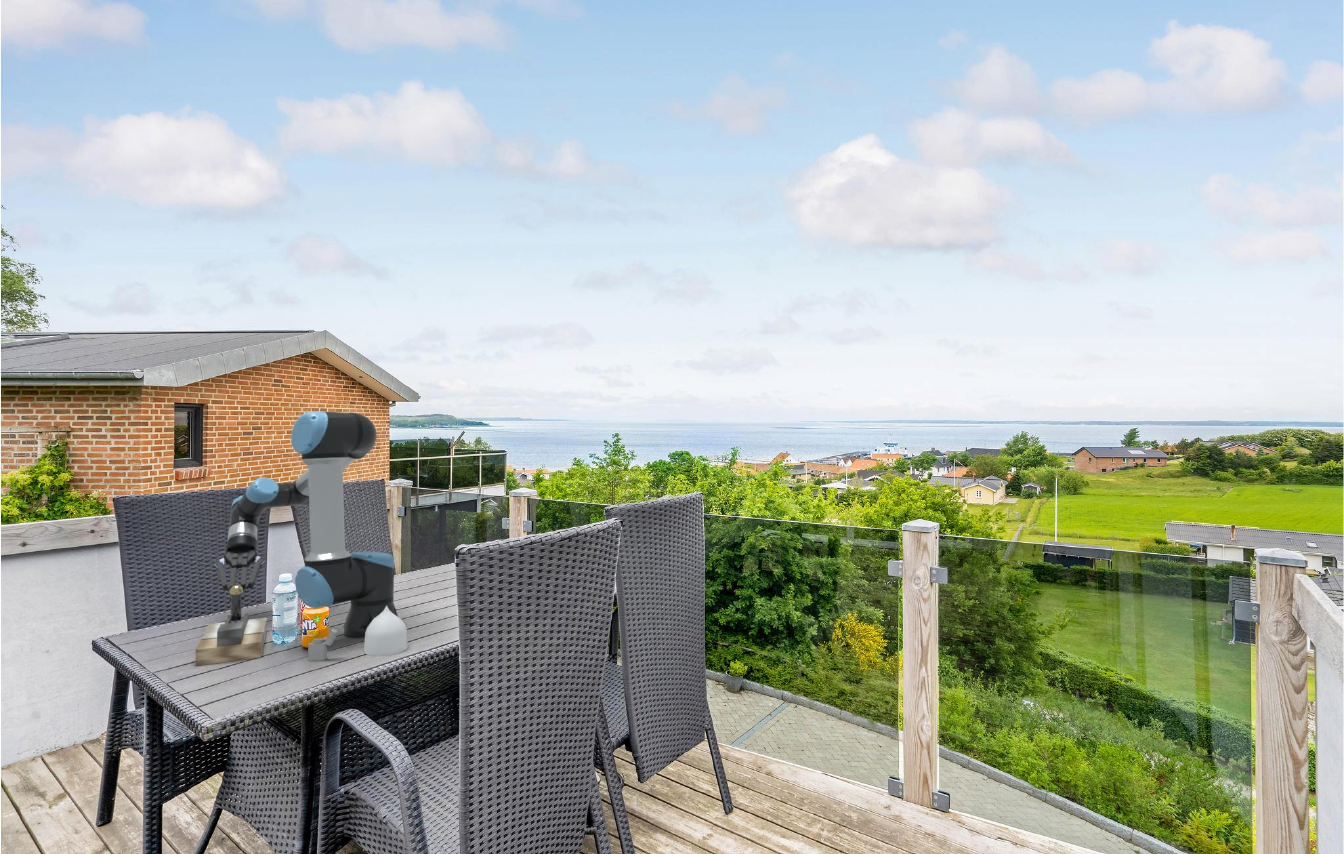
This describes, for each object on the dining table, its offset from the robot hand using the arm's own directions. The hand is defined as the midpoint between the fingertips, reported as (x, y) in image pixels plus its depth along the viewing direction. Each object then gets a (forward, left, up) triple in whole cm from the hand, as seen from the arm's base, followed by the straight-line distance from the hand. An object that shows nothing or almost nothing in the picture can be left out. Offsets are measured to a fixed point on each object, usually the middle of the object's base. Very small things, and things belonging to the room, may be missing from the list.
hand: (235, 609), depth 186 cm
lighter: (-4, +36, -9) cm, 37 cm away
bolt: (+3, +6, -4) cm, 8 cm away
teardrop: (-18, +42, -9) cm, 46 cm away
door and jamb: (+3, +7, -9) cm, 11 cm away
